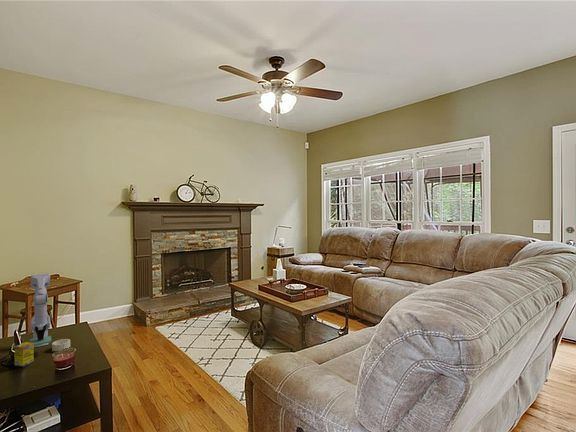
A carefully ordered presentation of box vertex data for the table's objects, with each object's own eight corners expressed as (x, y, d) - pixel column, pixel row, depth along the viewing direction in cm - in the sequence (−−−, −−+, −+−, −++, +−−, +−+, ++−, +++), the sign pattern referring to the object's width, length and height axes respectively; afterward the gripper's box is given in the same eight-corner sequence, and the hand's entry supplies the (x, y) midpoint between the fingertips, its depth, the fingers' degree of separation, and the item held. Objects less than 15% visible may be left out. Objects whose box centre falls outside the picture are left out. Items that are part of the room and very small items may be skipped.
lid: (29, 340, 188) (30, 332, 188) (51, 336, 194) (51, 329, 194) (29, 346, 180) (29, 337, 180) (51, 342, 186) (51, 334, 186)
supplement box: (23, 367, 170) (23, 347, 170) (14, 366, 171) (14, 346, 171) (34, 362, 176) (34, 342, 176) (25, 361, 177) (25, 341, 177)
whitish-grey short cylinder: (51, 347, 195) (51, 341, 195) (69, 344, 201) (69, 337, 201) (52, 352, 188) (52, 346, 188) (70, 349, 194) (70, 342, 194)
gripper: (32, 313, 190) (32, 336, 191) (31, 320, 179) (31, 344, 179) (47, 311, 195) (47, 333, 195) (47, 317, 183) (47, 341, 183)
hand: (40, 338), depth 187 cm, fingers closed on lid, 3 cm apart
